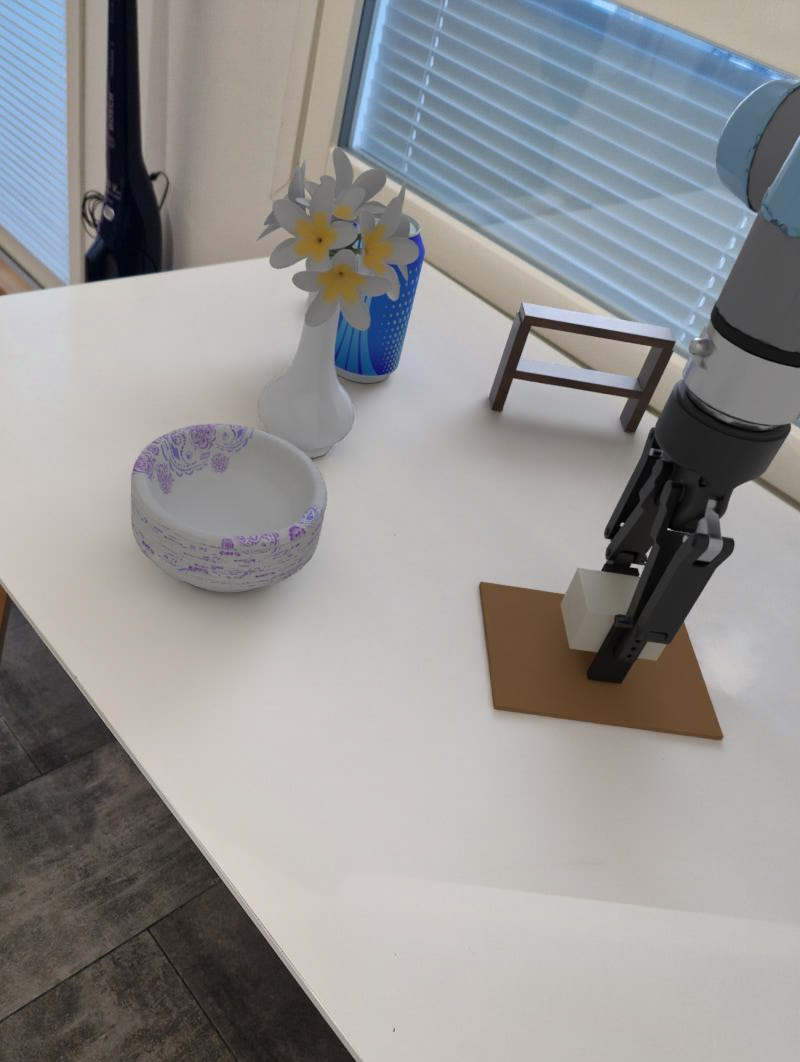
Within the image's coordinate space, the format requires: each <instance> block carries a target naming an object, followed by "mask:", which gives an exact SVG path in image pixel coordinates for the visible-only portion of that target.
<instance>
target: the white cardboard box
mask: <svg viewBox="0 0 800 1062" xmlns="http://www.w3.org/2000/svg"><path fill="white" fill-rule="evenodd" d="M640 577H641V576H639V577H637V576H631V575H624V574H617V573H611V572H604V571H601V570H596V569H590V568H583V567H577V569H576V571H575V573H574V574H573V577H572V579H571V580H570V583H569V585H568V587H567V589H566V591H565V593H564V594H565V596H564V598H563V600H562V602H561V604H560V605H561V610H562V615H563V619H564V624H565V629H566V634H567V638H568V643H569V648H570V649H577V650H584V651H591V652H598V651H599V649H600V647H601V645H602V643H603V641H604V640H605V638H606V636H607V634H608V632H609V630H610V629H611V627H612V625H613V623H614V617H615V615H618V614H622V615H626V613H627V610H628V608H629V605H630V602H631V600H632V597H633V595H634V592H635V590H636V587H637V584H638V582H639V579H640ZM666 645H667V644H661V643H654V642H647V644H646V645H645V647H644V649H643V650H642V651H641V654H640V655H639V657H638V658H640V659H647V660H654V661H657V659H658V657H659V656H660V654H661V653H662V651H663V649H664V648H665V646H666Z"/></svg>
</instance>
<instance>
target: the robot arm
mask: <svg viewBox="0 0 800 1062" xmlns="http://www.w3.org/2000/svg"><path fill="white" fill-rule="evenodd" d="M718 139H719V140H718V143H717V147H716V156H715V169H716V173H717V175H718V179H719V180H720V182H721V184H722V185H723V186H724V187H725V188H726V189H727V190H728V191H729V192H730V193H731V194H733V196H735V198H737V199H738V200H739V201H741V202H742V203H743V204H744V205H745V206H746V208H747V209H748V210H750V211H751V212H753V213H755V214H757V215H756V216H755V218H754V221H753V223H752V225H751V227H750V229H749V231H748V233H747V236H746V238H745V240H744V242H743V243H742V246H741V249H740V251H739V252H738V255H737V257H736V260H735V261H734V264H733V266H732V268H731V270H730V272H729V275H728V276H727V279H726V281H725V283H724V285H723V286H722V288H721V291H720V293H719V295H718V297H717V300H716V301H715V303H714V305H713V308H712V310H711V312H710V315H708V318H707V319H706V321H705V324H704V326H703V328H702V330H701V332H700V334H699V336H698V338H697V337H696V338H693V339H692V340H691V341H690V342H689V346H688V352H689V357H688V359H687V361H686V363H685V365H684V366H683V369H682V378H681V379H680V380H679V379H678V381H676V383H675V384H674V385H673V388H672V389H671V392H670V394H669V396H668V398H667V400H666V402H665V404H664V406H663V408H662V410H661V412H660V414H659V416H658V418H657V421H656V423H655V425H654V426H652V427H651V428H650V429H649V432H648V434H647V437H646V441H645V443H644V447H643V449H642V452H641V456H640V458H639V459H638V462H637V464H636V466H635V468H634V470H633V472H632V473H631V475H630V477H629V480H628V482H627V484H626V486H625V488H624V490H623V492H622V494H621V496H620V498H619V500H618V502H617V503H616V506H615V508H614V510H613V512H612V514H611V516H610V518H609V520H608V522H607V524H606V526H605V528H604V531H603V537H604V539H605V540H610V541H609V543H608V545H607V547H606V548H605V553H604V554H605V555H604V557H605V560H606V561H605V563H603V566H602V567H601V570H600V571H604V572H611V573H617V574H624V575H631V576H637V577H640V579H639V582H638V584H637V587H636V590H635V592H634V595H633V597H632V600H631V602H630V605H629V608H628V610H627V613H626V615H622V614H618V615H615V617H614V623H613V625H612V627H611V629H610V630H609V632H608V634H607V636H606V638H605V640H604V641H603V643H602V645H601V647H600V649H599V651H598V652H597V654H596V656H595V658H594V659H593V661H592V663H591V665H590V667H589V669H588V670H587V672H586V673H587V677H588V679H589V680H596V681H603V682H610V683H617V684H621V683H622V682H623V680H624V678H625V677H626V675H627V673H628V672H629V670H630V668H631V667H632V665H633V663H634V662H635V661H636V660H637V659H638V657H639V655H640V654H641V651H642V650H643V649H644V647H645V645H646V644H647V642H654V643H661V644H667V645H668V644H670V643H671V642H672V640H673V638H674V637H675V635H676V633H677V632H678V630H679V629H680V627H681V625H682V624H683V622H684V623H685V620H686V619H687V617H688V615H689V614H690V613H691V611H692V609H693V607H694V606H695V604H696V603H697V601H698V599H699V598H700V596H701V594H702V592H703V591H704V590H705V588H706V586H707V585H708V583H709V581H710V580H711V578H712V576H713V575H714V573H715V571H716V570H717V568H719V566H721V565H722V564H723V563H724V562H725V561H727V559H729V557H731V555H733V553H734V550H735V547H736V546H735V545H736V542H735V539H734V537H730V536H729V537H728V536H722V531H721V522H720V520H721V519H722V518H723V517H724V515H725V514H726V513H727V510H728V507H729V503H730V500H731V497H732V495H733V492H734V490H735V489H736V488H738V487H739V486H741V485H743V484H746V483H749V482H751V481H754V480H756V479H758V478H760V477H761V476H763V475H764V474H765V473H766V472H767V470H768V469H769V467H770V466H771V464H772V463H773V461H774V459H775V458H776V456H777V454H778V453H779V451H780V449H782V446H783V444H784V443H785V441H786V440H787V438H788V436H789V435H790V434H791V431H792V423H795V422H796V421H797V420H799V419H800V80H796V79H793V78H789V77H788V78H779V79H772V80H769V81H767V82H765V83H763V84H761V85H760V86H758V87H757V88H755V89H754V90H752V91H751V92H750V93H749V94H748V95H747V96H746V97H745V98H744V99H743V100H742V101H741V102H740V103H739V104H738V105H737V107H736V108H735V109H734V110H733V112H732V113H731V114H730V116H729V118H728V119H727V121H726V123H725V125H724V127H723V129H722V131H721V134H720V136H719V138H718ZM648 553H649V554H648ZM647 554H648V555H647ZM632 565H637V566H643V568H642V571H641V574H640V571H639V568H638V567H633V566H632Z"/></svg>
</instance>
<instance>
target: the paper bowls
mask: <svg viewBox="0 0 800 1062" xmlns="http://www.w3.org/2000/svg"><path fill="white" fill-rule="evenodd" d="M131 470H132V471H131V476H130V489H131V490H130V492H131V493H130V512H131V513H130V525H131V530H132V535H133V538H134V541H135V542H136V544H137V546H138V548H139V550H141V552H142V553H143V555H144V556H145V557H146V558H147V559H148V560H149V561H151V563H152V564H153V565H155V566H156V567H157V568H158V569H160V570H161V571H163V572H164V573H166V574H168V575H169V576H171V577H173V578H175V579H176V580H178V581H182V582H185V583H188V584H190V585H192V586H194V587H197V588H201V589H203V590H207V591H212V592H218V593H241V592H246V591H250V590H254V589H257V588H262V587H263V588H264V587H267V586H271V585H275V584H278V583H280V582H281V581H284V580H286V579H288V578H290V577H292V576H293V575H295V574H297V573H298V572H299V571H301V570H302V569H303V567H305V566H306V565H307V564H308V563H309V561H310V560H311V559H312V558H313V556H314V554H315V552H316V550H317V548H318V546H319V541H320V536H321V534H322V533H321V532H322V528H323V522H324V518H325V512H326V510H327V505H328V489H327V485H326V481H325V479H324V477H323V474H322V472H321V470H320V469H319V467H318V466H317V465H316V463H315V462H314V461H313V460H312V458H309V457H308V456H307V455H306V454H305V453H303V452H302V451H301V450H300V449H298V448H297V447H295V446H294V445H292V444H291V443H289V442H287V441H286V440H283V439H281V438H279V437H277V436H275V435H272V434H270V433H269V432H268V431H265V430H260V429H258V428H254V427H249V426H243V425H239V424H230V423H229V424H227V423H206V424H205V423H204V424H195V425H190V426H186V427H181V428H178V429H175V430H172V431H170V432H167V433H165V434H162V435H161V436H159V437H157V438H155V439H154V440H152V441H151V442H150V443H149V444H148V445H147V446H145V448H143V450H142V451H141V453H140V454H139V455H138V456H137V457H136V459H135V462H134V464H133V468H132V469H131Z"/></svg>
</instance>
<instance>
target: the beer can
mask: <svg viewBox="0 0 800 1062" xmlns="http://www.w3.org/2000/svg"><path fill="white" fill-rule="evenodd" d="M402 216H407V217H408V218H409V221H410V235H409V238H408V239H410V240H412V241H413V242H415V244H416V245H417V246H418V249H419V256H418V258H417V259H416V260H415V261H414V262H412V263H410V264H407V272H408V281H406V279H405V278H404V276H403V274H402V273H401V271H400V269H399V267H398V266H397V265H393V264H388V265H390V266H391V267H392V268H393V269H394V270H395V272H396V274H397V277H398V280H399V286H400V293H399V298H398V300H396V301H392V300H391V299H390V298H389V297H388V296H387V294H386V293H385V294H383V295H380V296H375V297H369V296H365V295H363V294H362V293H361V292H360V293H361V295H362V298H363V300H364V302H365V304H366V306H367V308H368V311H369V314H370V319H371V322H370V326H369V328H368V329H366V330H364V331H363V330H362V331H361V330H357V329H355V328H354V327H352V326H351V325H350V324H349V323H348V322H347V321H346V319H345V318H344V316H343V314H342V312H341V310H340V315H339V322H338V329H337V336H336V344H335V368H336V373H337V376H339V377H341V378H344V379H345V380H349V381H351V382H355V383H361V384H376V383H380V382H382V381H384V380H386V379H387V378H388V377H389V376H390V375H391V374H392V373H394V372H395V371H396V370H397V368H398V367H399V364H400V360H401V355H402V351H403V348H404V344H405V339H406V336H407V335H406V334H407V331H408V327H409V321H410V318H411V313H412V309H413V306H414V301H415V297H416V293H417V288H418V285H419V280H420V276H421V271H422V268H423V263H424V260H425V254H426V250H425V245H424V242H423V238H422V236H421V233H422V232H421V231H422V225H421V223H420V221H418V220H417V219H416V218H415V217H413V216H411V215H410V214H407V213H405V212H402V215H401V217H402ZM375 221H376V224H377V223H378V221H379V219H376V218H375ZM352 224H353V225H354V226H355V227H356V228H357V230H358V234H359V233H361V232H360V228H359V224H356V223H352ZM376 224H375V225H376ZM353 246H355V247H356V248H362V239H359V240H358V241H356V243H355V244H354V245H353ZM360 260H361V255H359V259H358V267H359V263H360ZM386 264H387V263H386ZM358 267H357V272H358Z"/></svg>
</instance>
